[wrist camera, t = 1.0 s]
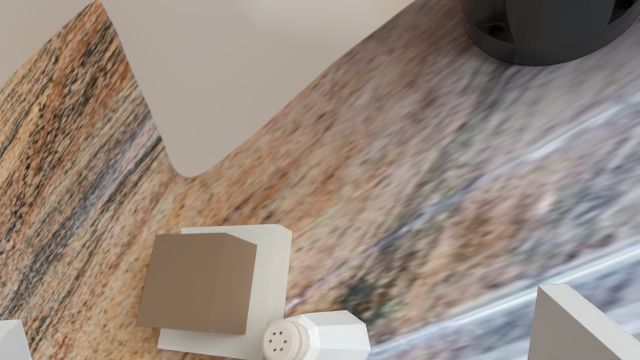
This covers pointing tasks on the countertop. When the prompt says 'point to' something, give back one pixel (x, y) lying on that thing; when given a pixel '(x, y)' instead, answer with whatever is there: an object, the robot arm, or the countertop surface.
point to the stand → (217, 288)
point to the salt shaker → (316, 337)
